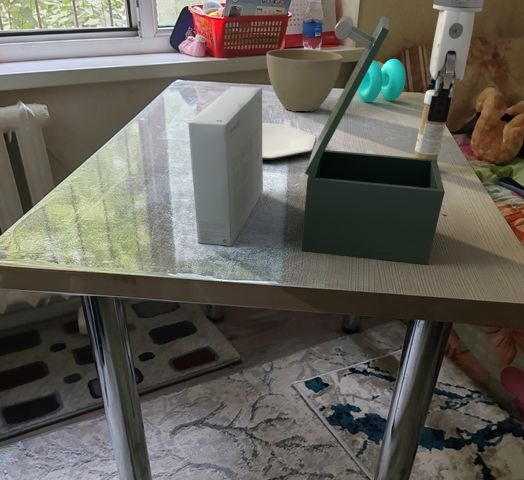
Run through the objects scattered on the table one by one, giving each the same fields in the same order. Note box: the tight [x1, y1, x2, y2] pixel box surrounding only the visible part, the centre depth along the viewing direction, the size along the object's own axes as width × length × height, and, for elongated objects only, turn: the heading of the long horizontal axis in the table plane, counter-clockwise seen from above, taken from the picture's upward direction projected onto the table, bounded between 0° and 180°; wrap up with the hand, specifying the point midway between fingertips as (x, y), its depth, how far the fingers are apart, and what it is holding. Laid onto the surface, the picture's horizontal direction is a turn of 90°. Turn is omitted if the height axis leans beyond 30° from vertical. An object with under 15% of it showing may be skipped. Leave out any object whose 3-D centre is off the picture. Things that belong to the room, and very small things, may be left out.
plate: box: [262, 122, 317, 161], centre depth 111 cm, size 24×24×2 cm
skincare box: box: [187, 86, 264, 247], centre depth 77 cm, size 21×6×16 cm, turn 168°
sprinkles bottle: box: [413, 90, 454, 161], centre depth 98 cm, size 5×5×14 cm
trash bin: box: [301, 149, 446, 266], centre depth 74 cm, size 17×13×10 cm
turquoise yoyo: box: [356, 58, 406, 103], centre depth 144 cm, size 10×10×10 cm
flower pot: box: [266, 48, 343, 112], centre depth 134 cm, size 18×18×12 cm
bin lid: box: [304, 15, 390, 177], centre depth 67 cm, size 17×13×5 cm
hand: (434, 114), depth 96 cm, fingers open, 8 cm apart
